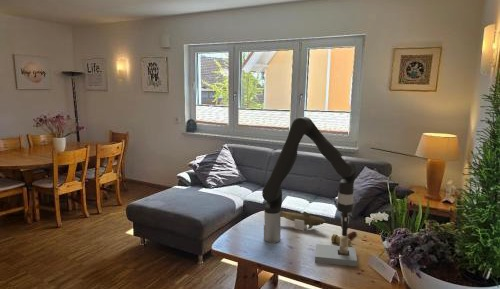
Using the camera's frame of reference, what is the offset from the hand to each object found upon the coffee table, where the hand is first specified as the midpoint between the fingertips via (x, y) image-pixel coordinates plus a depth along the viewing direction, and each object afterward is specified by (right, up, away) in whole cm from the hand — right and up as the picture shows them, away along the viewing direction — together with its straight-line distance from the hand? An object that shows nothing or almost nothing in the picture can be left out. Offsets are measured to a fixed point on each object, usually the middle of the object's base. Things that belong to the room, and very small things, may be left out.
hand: (343, 232), depth 162 cm
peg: (0, -14, +2) cm, 14 cm away
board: (-4, -14, +3) cm, 15 cm away
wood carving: (-17, -8, +41) cm, 46 cm away
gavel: (+9, -11, +24) cm, 28 cm away
